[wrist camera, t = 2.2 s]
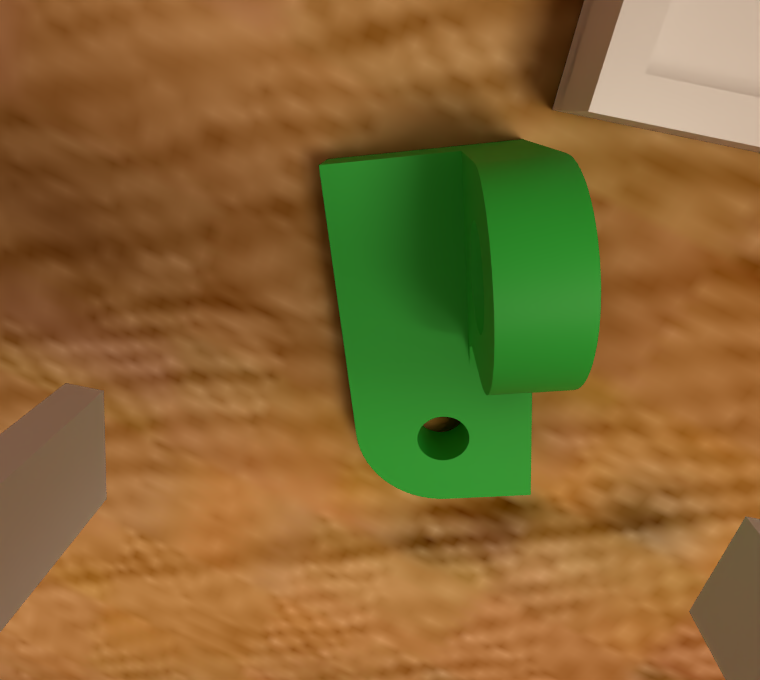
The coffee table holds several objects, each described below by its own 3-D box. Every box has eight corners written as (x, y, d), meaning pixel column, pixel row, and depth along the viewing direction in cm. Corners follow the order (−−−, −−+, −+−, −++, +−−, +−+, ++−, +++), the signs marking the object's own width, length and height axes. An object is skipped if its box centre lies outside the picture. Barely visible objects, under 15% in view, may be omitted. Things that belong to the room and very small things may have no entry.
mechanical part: (328, 158, 17) (267, 200, 10) (521, 138, 17) (609, 167, 9) (369, 469, 22) (349, 653, 14) (520, 461, 21) (577, 648, 14)
